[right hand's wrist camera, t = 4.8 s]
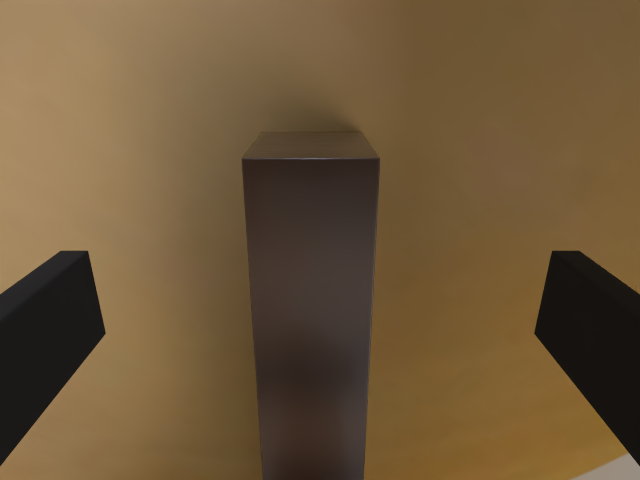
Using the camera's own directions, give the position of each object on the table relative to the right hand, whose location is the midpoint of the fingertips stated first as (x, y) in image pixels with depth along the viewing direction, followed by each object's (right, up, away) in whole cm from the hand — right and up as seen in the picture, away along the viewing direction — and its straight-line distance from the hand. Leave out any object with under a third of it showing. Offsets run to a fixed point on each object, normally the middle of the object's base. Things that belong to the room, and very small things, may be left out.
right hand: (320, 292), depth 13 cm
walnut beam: (0, -9, +15) cm, 18 cm away
